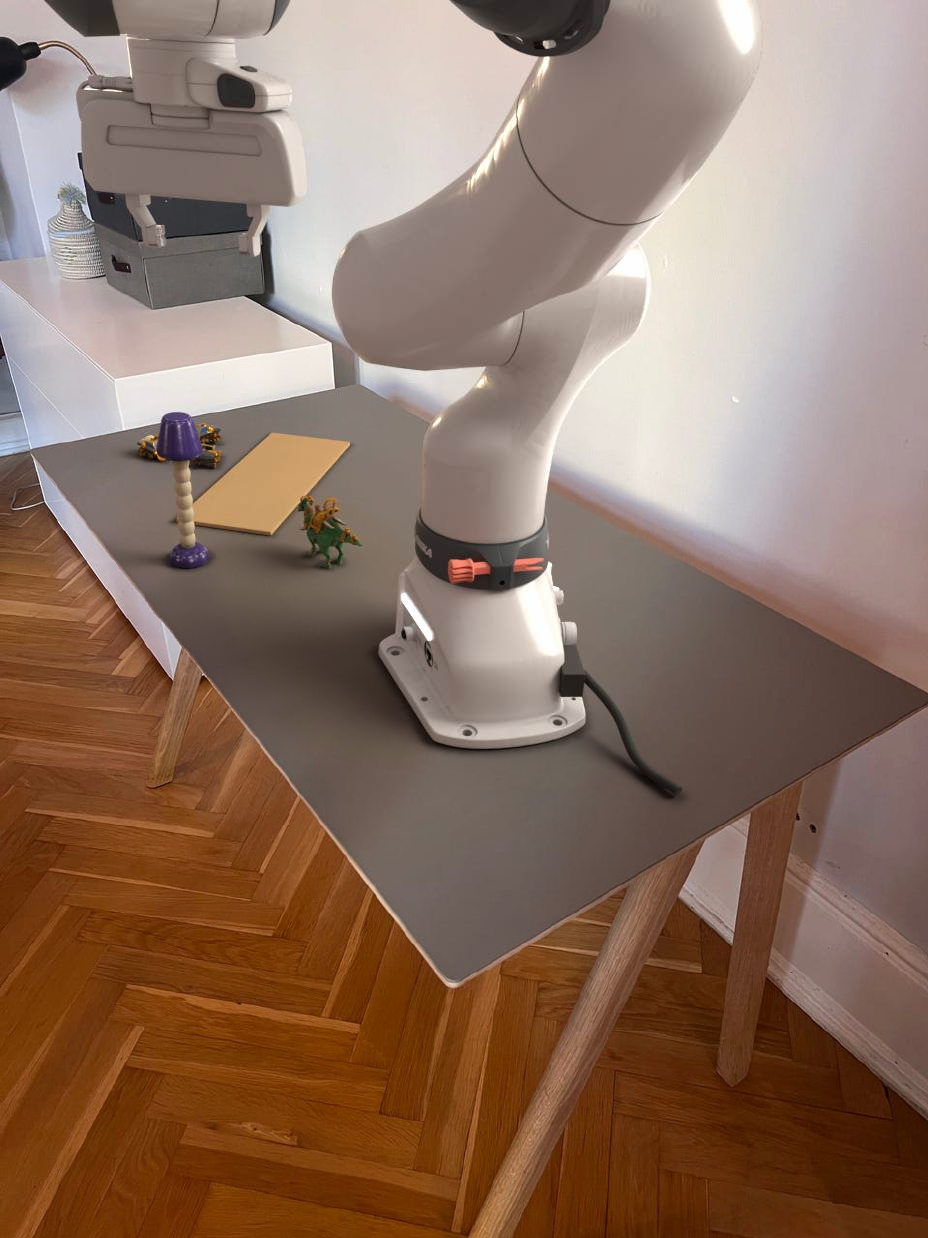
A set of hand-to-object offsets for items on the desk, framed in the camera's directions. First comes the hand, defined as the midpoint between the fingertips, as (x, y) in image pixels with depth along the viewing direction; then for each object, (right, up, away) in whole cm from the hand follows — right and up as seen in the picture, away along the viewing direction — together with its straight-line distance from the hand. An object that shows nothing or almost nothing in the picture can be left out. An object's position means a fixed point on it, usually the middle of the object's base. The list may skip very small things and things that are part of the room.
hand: (202, 250), depth 86 cm
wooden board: (-1, -16, +35) cm, 38 cm away
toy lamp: (-6, -28, +16) cm, 33 cm away
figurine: (+10, -29, +17) cm, 35 cm away
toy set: (-13, -11, +42) cm, 45 cm away
